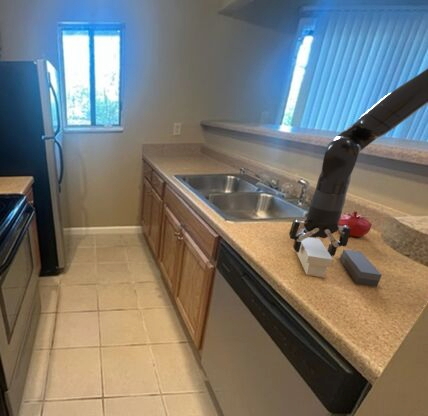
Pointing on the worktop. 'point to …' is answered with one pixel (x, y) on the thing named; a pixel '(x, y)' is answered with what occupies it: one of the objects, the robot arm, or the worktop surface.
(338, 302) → the worktop surface
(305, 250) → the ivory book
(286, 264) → the worktop surface
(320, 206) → the robot arm
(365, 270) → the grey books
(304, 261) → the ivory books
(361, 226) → the pomegranate
